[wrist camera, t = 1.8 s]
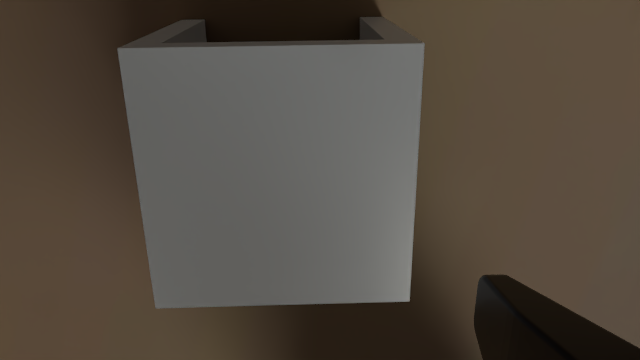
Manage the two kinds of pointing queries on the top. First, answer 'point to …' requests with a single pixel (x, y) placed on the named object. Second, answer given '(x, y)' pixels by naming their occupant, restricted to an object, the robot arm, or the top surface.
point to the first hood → (275, 165)
